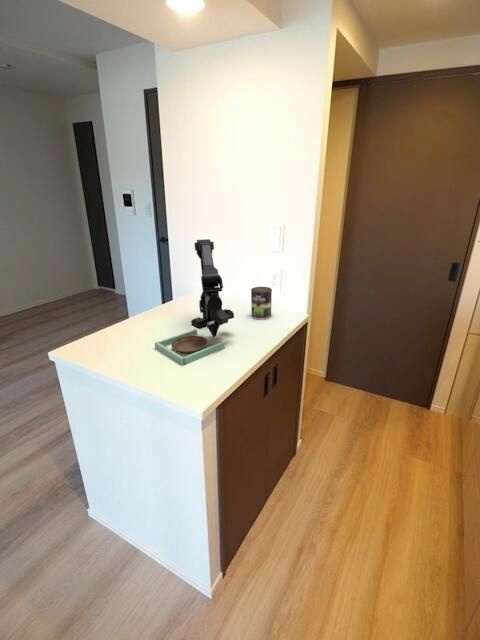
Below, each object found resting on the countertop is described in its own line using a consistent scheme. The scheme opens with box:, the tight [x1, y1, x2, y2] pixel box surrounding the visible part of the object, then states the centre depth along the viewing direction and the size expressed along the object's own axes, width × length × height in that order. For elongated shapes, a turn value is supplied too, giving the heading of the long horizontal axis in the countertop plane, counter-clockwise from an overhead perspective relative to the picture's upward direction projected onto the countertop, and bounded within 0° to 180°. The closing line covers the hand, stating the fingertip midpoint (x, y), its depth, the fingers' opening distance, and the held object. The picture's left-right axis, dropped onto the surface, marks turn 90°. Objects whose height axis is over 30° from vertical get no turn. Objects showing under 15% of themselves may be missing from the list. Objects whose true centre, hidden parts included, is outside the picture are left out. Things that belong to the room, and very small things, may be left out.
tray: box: [154, 328, 226, 366], centre depth 134 cm, size 20×20×2 cm
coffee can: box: [250, 286, 273, 321], centre depth 165 cm, size 10×10×14 cm
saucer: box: [170, 335, 209, 355], centre depth 134 cm, size 15×15×3 cm
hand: (214, 337), depth 142 cm, fingers closed
